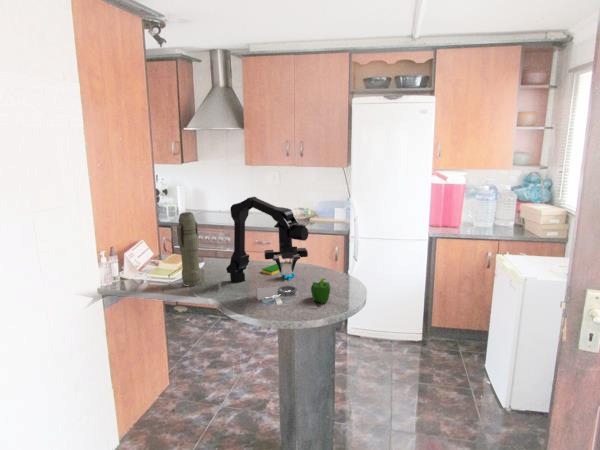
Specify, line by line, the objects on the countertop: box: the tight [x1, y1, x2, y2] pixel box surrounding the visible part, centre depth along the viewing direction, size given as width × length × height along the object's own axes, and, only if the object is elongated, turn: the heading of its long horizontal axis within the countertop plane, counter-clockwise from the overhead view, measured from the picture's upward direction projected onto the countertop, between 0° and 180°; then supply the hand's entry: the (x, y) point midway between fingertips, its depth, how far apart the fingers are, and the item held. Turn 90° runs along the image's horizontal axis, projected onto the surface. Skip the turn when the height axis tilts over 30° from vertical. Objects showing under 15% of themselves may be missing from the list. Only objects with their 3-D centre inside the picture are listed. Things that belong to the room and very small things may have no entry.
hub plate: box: [256, 285, 300, 301], centre depth 190 cm, size 18×14×2 cm
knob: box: [280, 259, 292, 276], centre depth 188 cm, size 5×5×6 cm
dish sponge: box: [261, 262, 281, 276], centre depth 224 cm, size 7×14×2 cm, turn 139°
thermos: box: [176, 211, 202, 287], centre depth 204 cm, size 9×12×35 cm
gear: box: [279, 265, 296, 281], centre depth 210 cm, size 11×6×10 cm
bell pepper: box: [310, 277, 331, 304], centre depth 181 cm, size 8×8×10 cm
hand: (286, 272), depth 189 cm, fingers closed on knob, 5 cm apart
